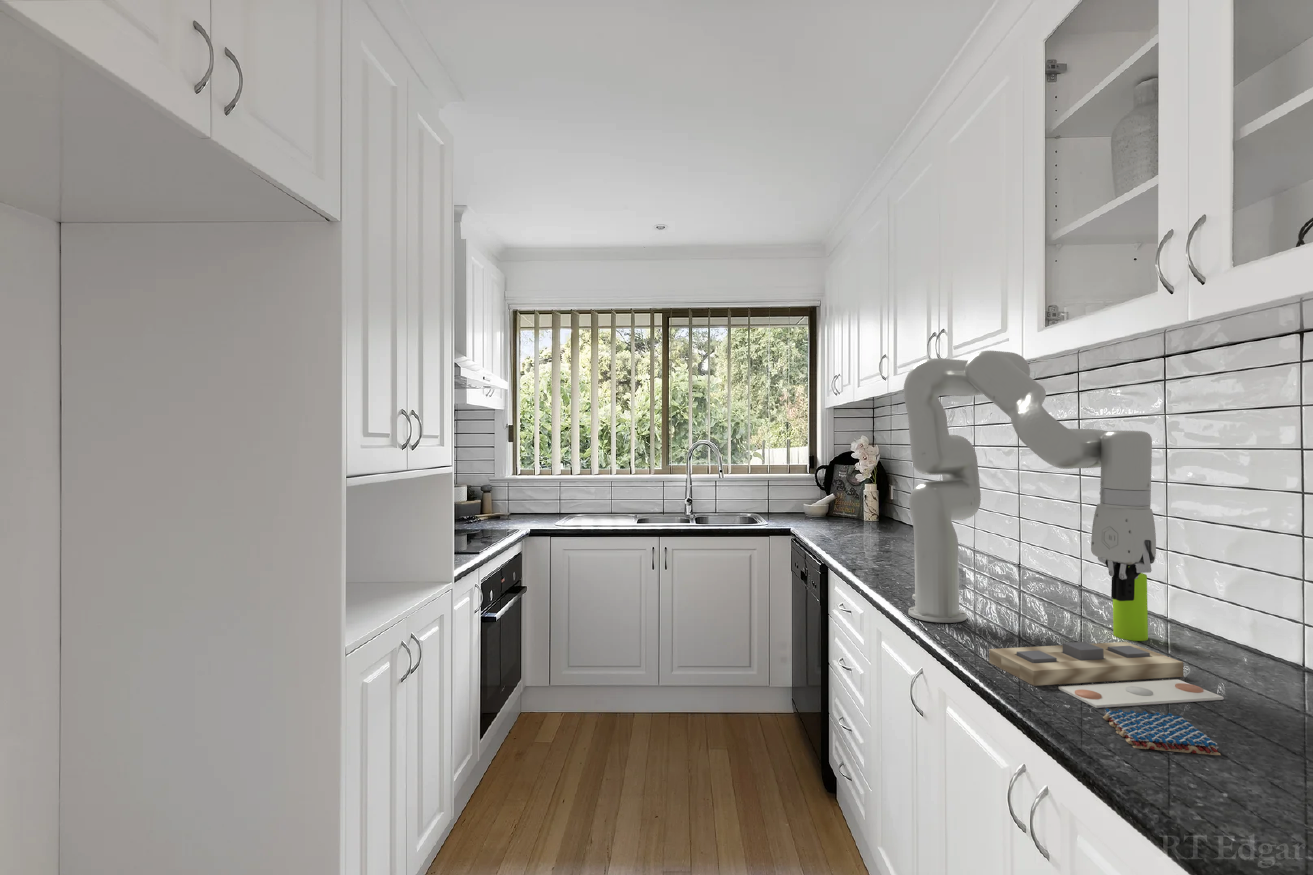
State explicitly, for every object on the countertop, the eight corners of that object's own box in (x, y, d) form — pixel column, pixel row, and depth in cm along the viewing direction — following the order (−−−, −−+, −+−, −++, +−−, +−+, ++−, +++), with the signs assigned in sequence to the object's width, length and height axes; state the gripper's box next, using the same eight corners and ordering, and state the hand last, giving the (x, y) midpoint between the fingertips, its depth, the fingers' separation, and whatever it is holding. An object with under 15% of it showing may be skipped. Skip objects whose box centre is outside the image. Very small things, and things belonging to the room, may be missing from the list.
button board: (1033, 685, 113) (1033, 670, 113) (989, 662, 125) (989, 649, 125) (1183, 676, 116) (1183, 662, 116) (1126, 654, 128) (1126, 641, 128)
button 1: (1033, 673, 117) (1033, 659, 117) (1016, 665, 121) (1016, 651, 121) (1056, 672, 117) (1056, 658, 117) (1039, 664, 122) (1039, 650, 122)
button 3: (1127, 668, 119) (1127, 654, 119) (1107, 660, 123) (1107, 646, 123) (1149, 666, 120) (1149, 652, 120) (1129, 659, 124) (1129, 645, 124)
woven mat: (1132, 753, 89) (1132, 737, 89) (1100, 720, 100) (1100, 706, 100) (1224, 760, 87) (1224, 745, 87) (1182, 726, 97) (1182, 712, 97)
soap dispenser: (1116, 640, 138) (1114, 542, 138) (1111, 631, 144) (1110, 537, 144) (1151, 643, 135) (1149, 543, 135) (1145, 634, 141) (1143, 539, 141)
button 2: (1080, 664, 118) (1080, 650, 118) (1062, 656, 122) (1062, 642, 122) (1103, 663, 118) (1103, 648, 118) (1084, 655, 123) (1084, 641, 123)
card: (1096, 707, 103) (1095, 703, 103) (1058, 688, 111) (1058, 685, 111) (1223, 699, 106) (1223, 695, 106) (1178, 681, 114) (1178, 678, 114)
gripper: (1075, 494, 129) (1073, 589, 129) (1140, 504, 114) (1138, 611, 114) (1111, 494, 130) (1108, 588, 130) (1180, 503, 115) (1177, 610, 115)
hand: (1122, 599), depth 122 cm, fingers closed
